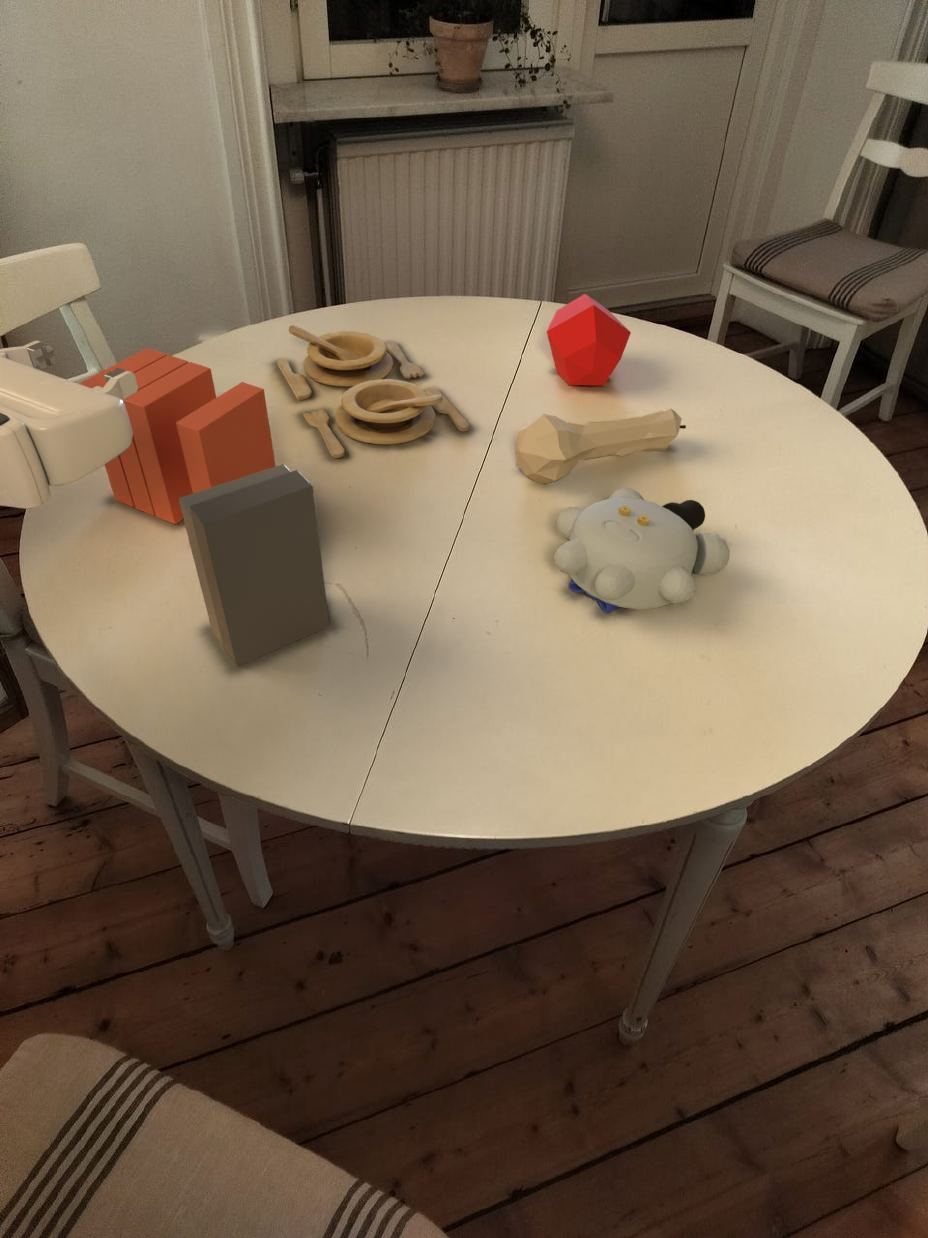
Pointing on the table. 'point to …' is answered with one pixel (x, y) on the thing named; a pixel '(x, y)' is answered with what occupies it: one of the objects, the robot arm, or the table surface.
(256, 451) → the terracotta book
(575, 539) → the figurine
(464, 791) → the table surface
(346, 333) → the tableware set
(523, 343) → the table surface
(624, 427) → the faceted club
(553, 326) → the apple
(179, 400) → the matching books
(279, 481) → the grey books
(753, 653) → the table surface
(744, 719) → the table surface
